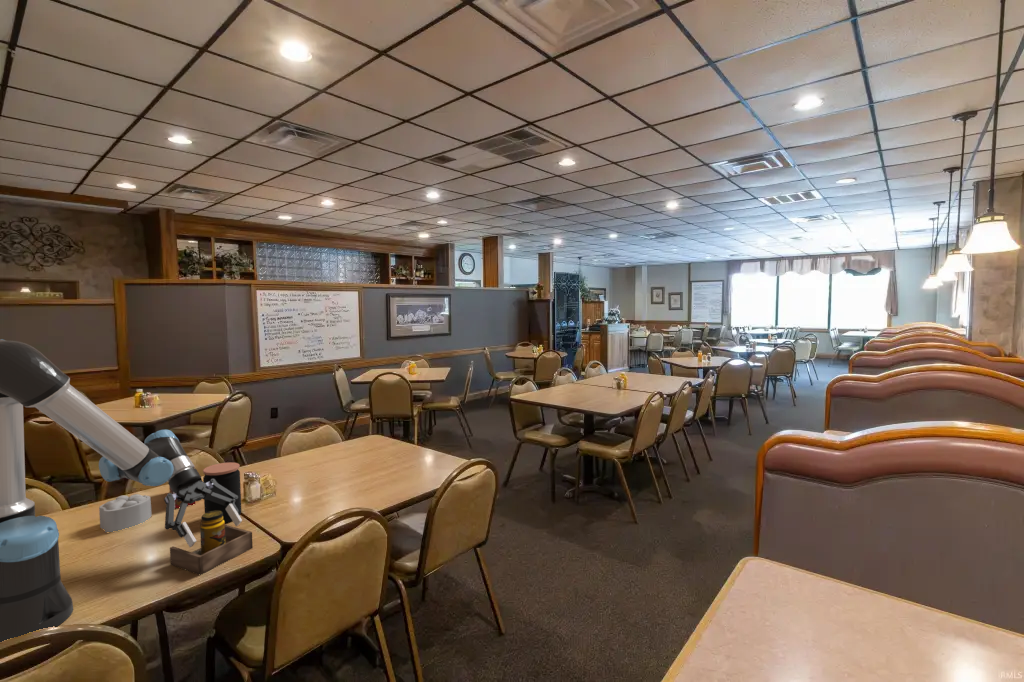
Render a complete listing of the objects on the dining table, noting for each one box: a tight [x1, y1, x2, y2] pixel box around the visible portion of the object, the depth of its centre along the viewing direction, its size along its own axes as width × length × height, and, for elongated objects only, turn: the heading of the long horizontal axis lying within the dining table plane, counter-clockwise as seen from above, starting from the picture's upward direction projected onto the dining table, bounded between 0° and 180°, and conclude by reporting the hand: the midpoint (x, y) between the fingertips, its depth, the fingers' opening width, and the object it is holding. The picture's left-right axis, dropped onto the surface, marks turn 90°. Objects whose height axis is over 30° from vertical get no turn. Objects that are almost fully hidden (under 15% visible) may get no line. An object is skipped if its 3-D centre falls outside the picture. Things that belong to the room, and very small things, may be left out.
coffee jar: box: [202, 461, 242, 524], centre depth 159 cm, size 11×11×18 cm
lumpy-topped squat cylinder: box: [98, 493, 153, 533], centre depth 156 cm, size 10×13×9 cm
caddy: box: [169, 524, 254, 576], centre depth 135 cm, size 16×13×5 cm
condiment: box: [192, 511, 226, 555], centre depth 134 cm, size 7×8×12 cm
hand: (217, 533), depth 134 cm, fingers open, 13 cm apart
